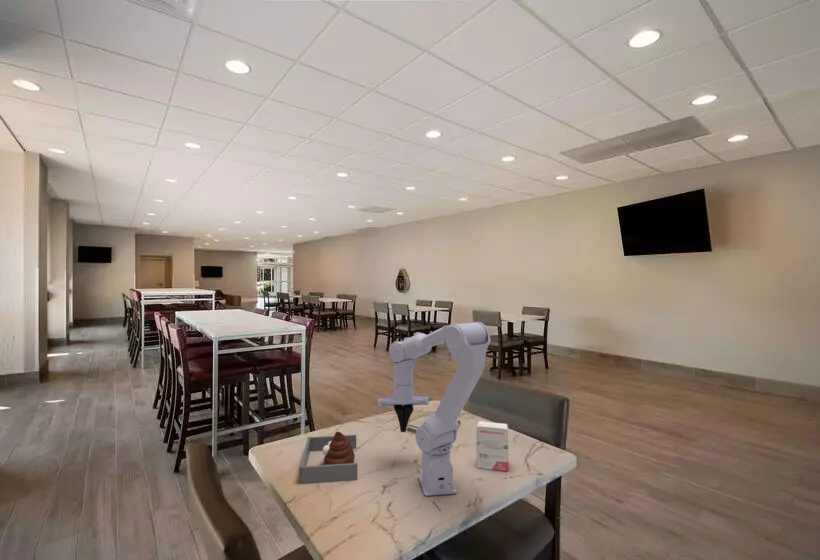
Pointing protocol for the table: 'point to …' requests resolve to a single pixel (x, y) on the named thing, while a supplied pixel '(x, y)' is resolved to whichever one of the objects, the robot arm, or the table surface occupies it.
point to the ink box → (492, 446)
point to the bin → (325, 471)
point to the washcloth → (419, 424)
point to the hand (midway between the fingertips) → (403, 430)
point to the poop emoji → (338, 450)
